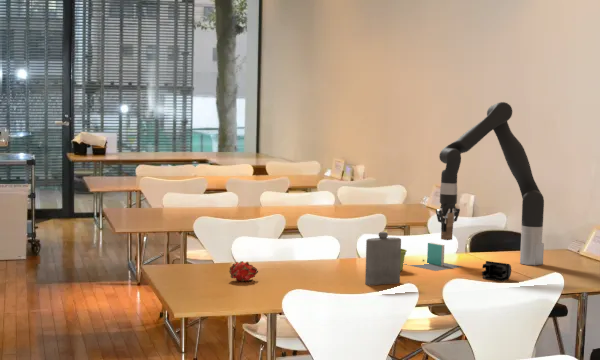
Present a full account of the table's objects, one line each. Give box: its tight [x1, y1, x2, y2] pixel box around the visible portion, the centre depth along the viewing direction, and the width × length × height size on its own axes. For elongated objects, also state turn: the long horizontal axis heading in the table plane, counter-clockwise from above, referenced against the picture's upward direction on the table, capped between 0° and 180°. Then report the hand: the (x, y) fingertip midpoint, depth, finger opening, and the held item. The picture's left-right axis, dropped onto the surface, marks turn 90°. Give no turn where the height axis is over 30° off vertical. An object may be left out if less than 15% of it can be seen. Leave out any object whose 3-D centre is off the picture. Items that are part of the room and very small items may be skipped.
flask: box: [364, 231, 402, 286], centre depth 325 cm, size 15×6×20 cm, turn 116°
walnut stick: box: [440, 213, 454, 241], centre depth 372 cm, size 4×4×12 cm
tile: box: [426, 242, 445, 266], centre depth 368 cm, size 8×2×9 cm, turn 38°
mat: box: [404, 262, 463, 272], centre depth 366 cm, size 22×18×1 cm
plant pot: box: [400, 248, 407, 272], centre depth 354 cm, size 9×9×9 cm
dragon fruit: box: [228, 260, 259, 282], centre depth 325 cm, size 8×8×12 cm
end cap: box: [481, 260, 512, 282], centre depth 340 cm, size 10×7×7 cm
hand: (447, 231), depth 372 cm, fingers closed on walnut stick, 3 cm apart
